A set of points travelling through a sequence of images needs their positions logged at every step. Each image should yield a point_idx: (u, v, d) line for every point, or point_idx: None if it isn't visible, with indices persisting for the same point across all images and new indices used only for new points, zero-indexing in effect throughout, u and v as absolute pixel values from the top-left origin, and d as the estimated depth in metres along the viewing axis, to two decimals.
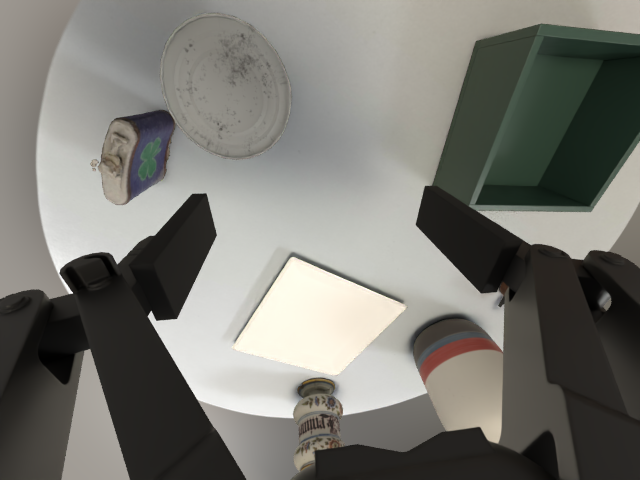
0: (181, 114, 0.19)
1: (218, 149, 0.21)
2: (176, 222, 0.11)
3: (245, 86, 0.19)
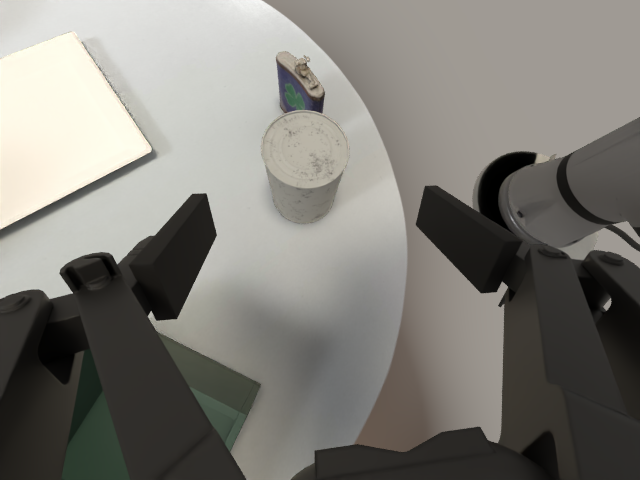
0: (308, 116, 0.28)
1: (278, 123, 0.27)
2: (176, 222, 0.11)
3: (306, 161, 0.26)
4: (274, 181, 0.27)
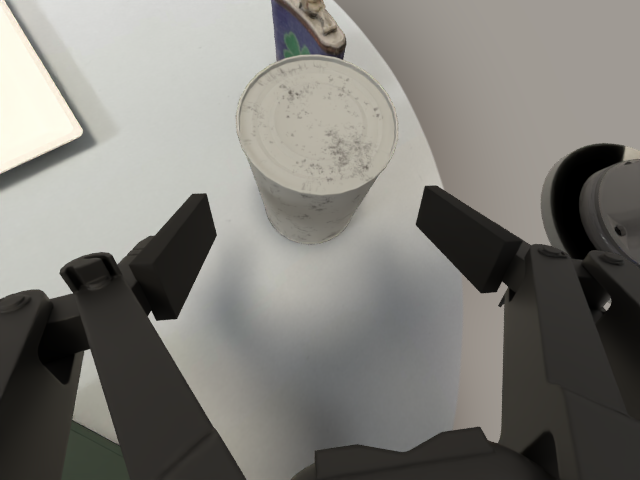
0: (324, 67, 0.15)
1: (270, 76, 0.15)
2: (176, 222, 0.11)
3: (320, 144, 0.14)
4: (261, 181, 0.15)
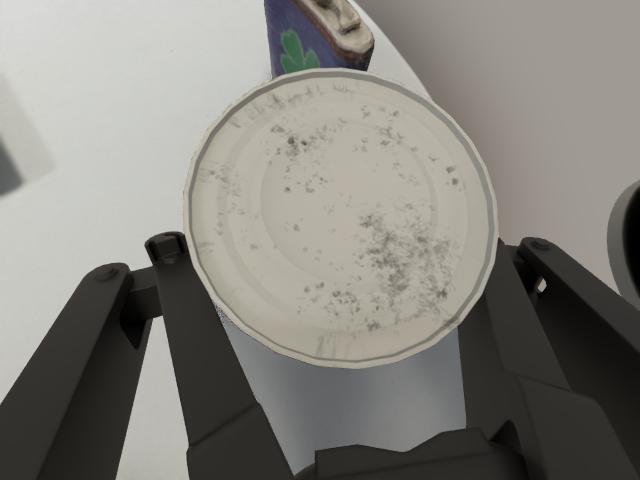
0: (353, 90, 0.09)
1: (253, 110, 0.08)
2: None
3: (350, 246, 0.07)
4: None
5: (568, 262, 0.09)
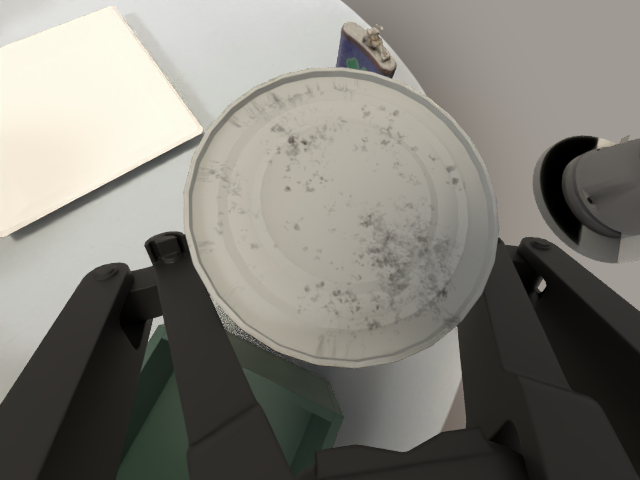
0: (353, 89, 0.09)
1: (254, 109, 0.08)
2: None
3: (350, 245, 0.07)
4: None
5: (568, 262, 0.09)
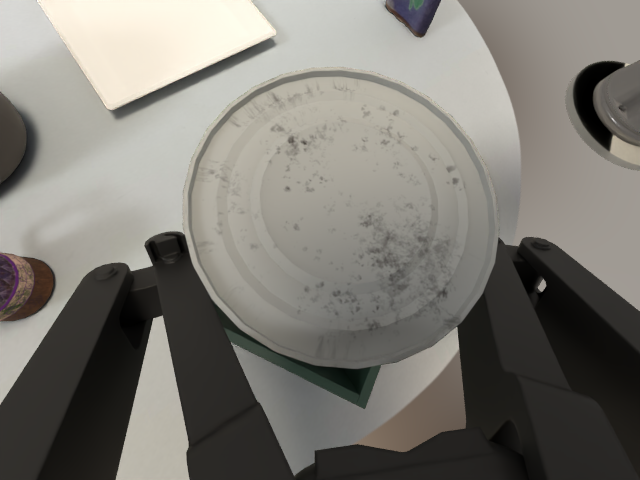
0: (353, 89, 0.09)
1: (253, 109, 0.08)
2: None
3: (350, 245, 0.07)
4: None
5: (568, 262, 0.09)
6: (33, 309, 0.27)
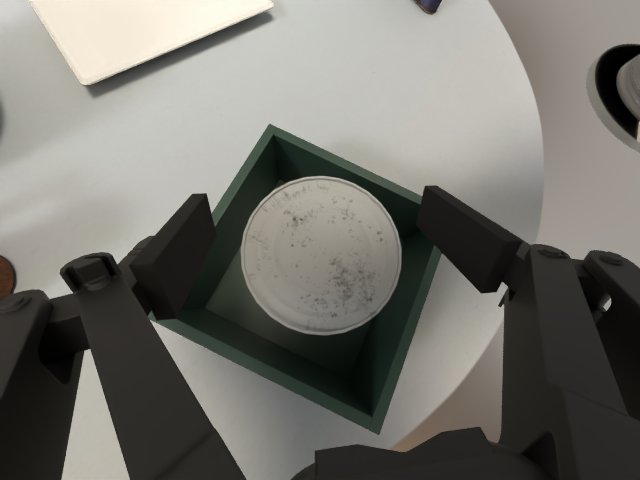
0: (328, 187, 0.16)
1: (274, 201, 0.15)
2: (176, 222, 0.11)
3: (324, 275, 0.14)
4: None
5: None
6: None
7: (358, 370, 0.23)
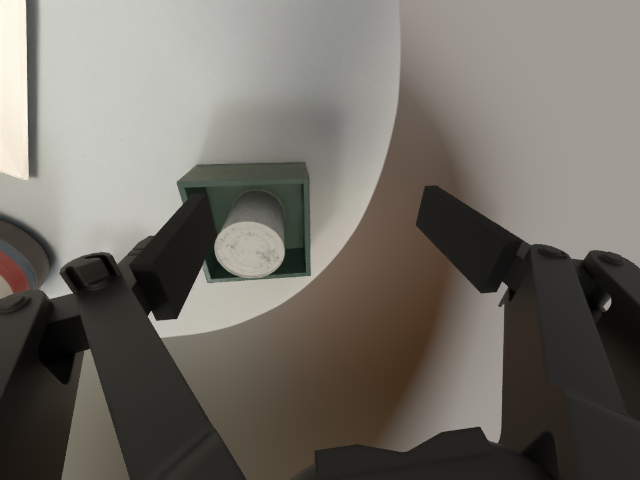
0: (235, 228, 0.32)
1: (219, 244, 0.33)
2: (176, 222, 0.11)
3: (256, 258, 0.35)
4: None
5: None
6: None
7: (303, 246, 0.47)
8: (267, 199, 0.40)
